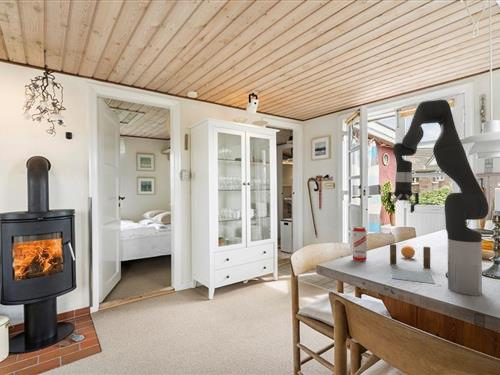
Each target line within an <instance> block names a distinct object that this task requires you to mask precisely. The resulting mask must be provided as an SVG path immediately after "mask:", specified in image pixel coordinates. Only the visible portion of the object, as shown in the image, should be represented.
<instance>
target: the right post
mask: <svg viewBox="0 0 500 375" xmlns="http://www.w3.org/2000/svg"><path fill="white" fill-rule="evenodd" d="M422 249H423V250H422V251H423V253H422V254H423V255H422V257H423V260H422V261H423V264H422V265H423V268H424V269H427V270H428V269H429V270H430V269H431V247H430V246H423V248H422Z"/></svg>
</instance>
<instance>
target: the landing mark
mask: <svg viewBox="0 0 500 375" xmlns="http://www.w3.org/2000/svg"><path fill="white" fill-rule="evenodd" d="M391 279H393V280H399V281H400V280H402V281H410V282H415V283H422V284H423V283H424V284H430V285H431V284H432V285H436V283H435V280H434V277H433V275H432V273H431V272H426V271H424V272H423V271H418V270H417V271H416V270H408V269H407V270H406V269H397V268H391Z"/></svg>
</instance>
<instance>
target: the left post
mask: <svg viewBox="0 0 500 375" xmlns="http://www.w3.org/2000/svg"><path fill="white" fill-rule="evenodd" d="M389 265H393V266H397V244H395V243H390V244H389Z"/></svg>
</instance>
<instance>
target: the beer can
mask: <svg viewBox="0 0 500 375" xmlns="http://www.w3.org/2000/svg"><path fill="white" fill-rule="evenodd" d="M352 259H353V260H354V262H356V263H357V262H358V263H362V262H363V263H364V262H365V261H367V259H368V258H367V230H366V227H365V226H354V227H353V228H352Z"/></svg>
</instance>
